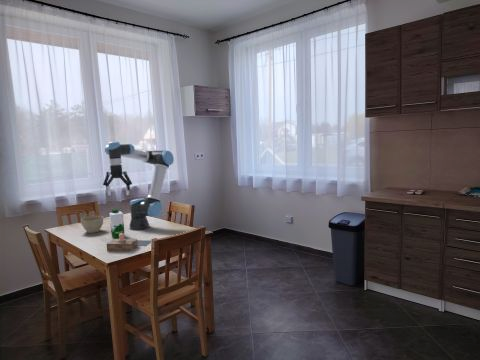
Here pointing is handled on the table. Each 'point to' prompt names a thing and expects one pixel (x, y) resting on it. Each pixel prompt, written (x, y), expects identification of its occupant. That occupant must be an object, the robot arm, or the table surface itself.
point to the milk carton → (116, 223)
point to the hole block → (122, 245)
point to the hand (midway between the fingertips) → (118, 195)
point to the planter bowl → (92, 223)
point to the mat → (143, 242)
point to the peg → (121, 237)
